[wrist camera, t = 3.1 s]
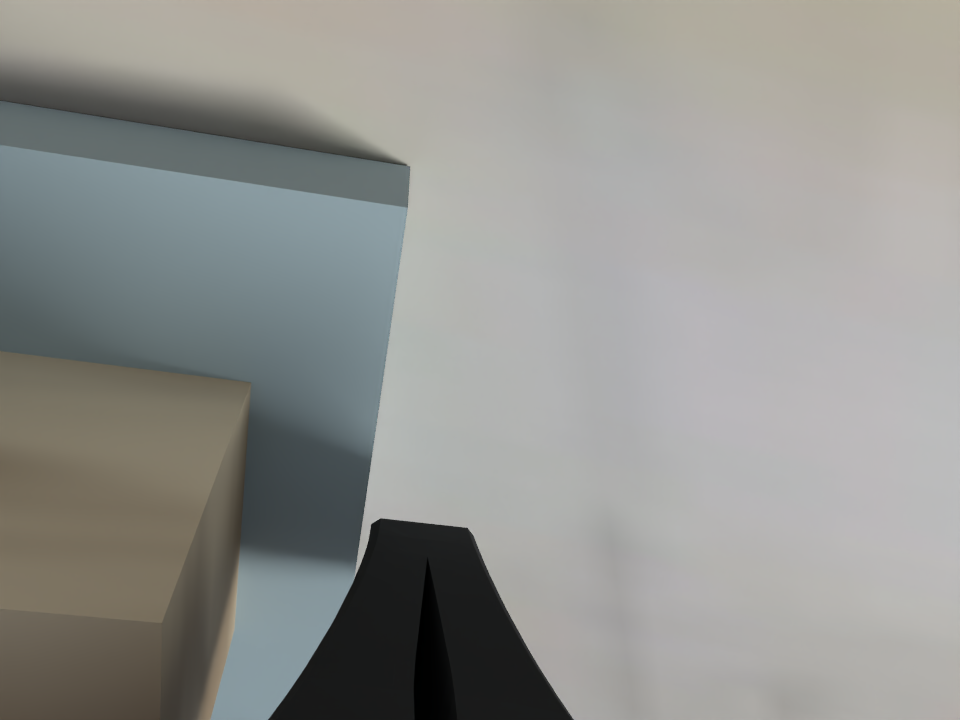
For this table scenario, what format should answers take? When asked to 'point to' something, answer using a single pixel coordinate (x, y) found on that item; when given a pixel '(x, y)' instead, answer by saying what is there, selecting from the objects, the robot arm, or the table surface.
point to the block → (117, 538)
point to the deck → (222, 329)
